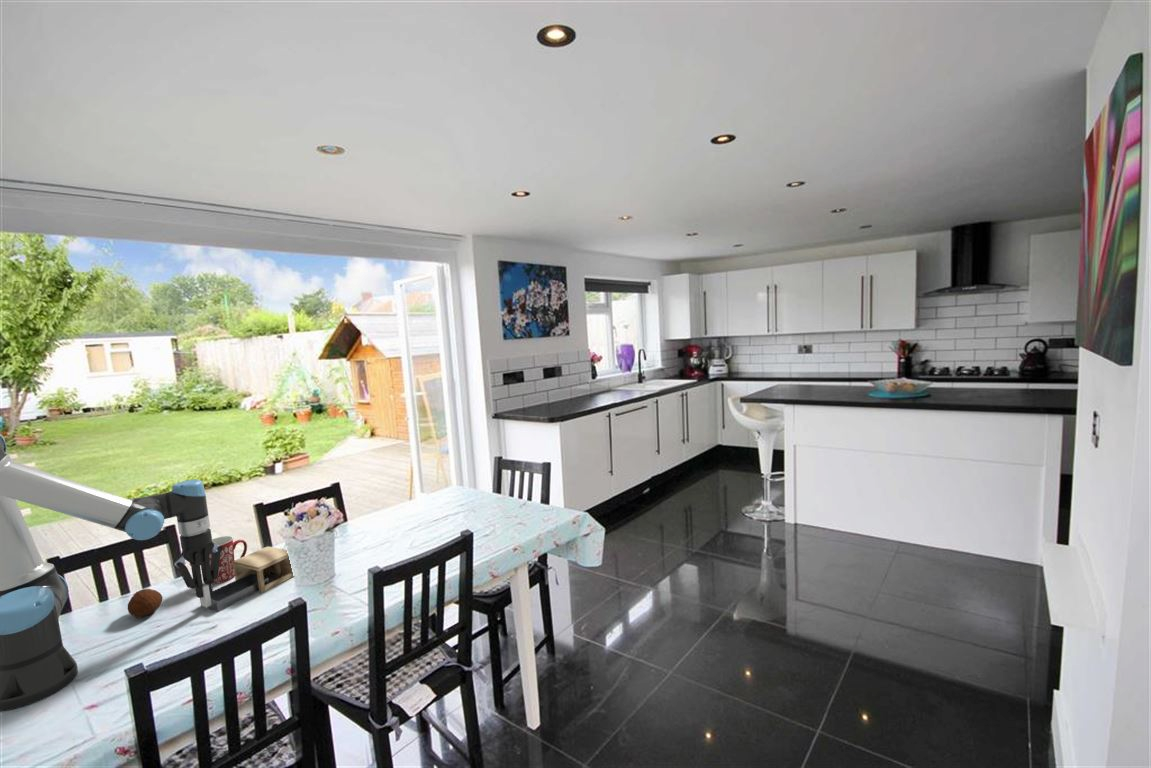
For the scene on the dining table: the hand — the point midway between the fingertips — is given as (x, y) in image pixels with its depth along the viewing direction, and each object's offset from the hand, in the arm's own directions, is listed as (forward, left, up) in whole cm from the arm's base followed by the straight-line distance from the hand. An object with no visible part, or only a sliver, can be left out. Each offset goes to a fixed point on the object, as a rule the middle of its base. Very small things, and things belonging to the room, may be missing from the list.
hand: (206, 605), depth 156 cm
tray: (+9, 0, -2) cm, 9 cm away
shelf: (+19, 0, -2) cm, 19 cm away
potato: (-8, +17, -2) cm, 19 cm away
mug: (+16, +16, -2) cm, 23 cm away
